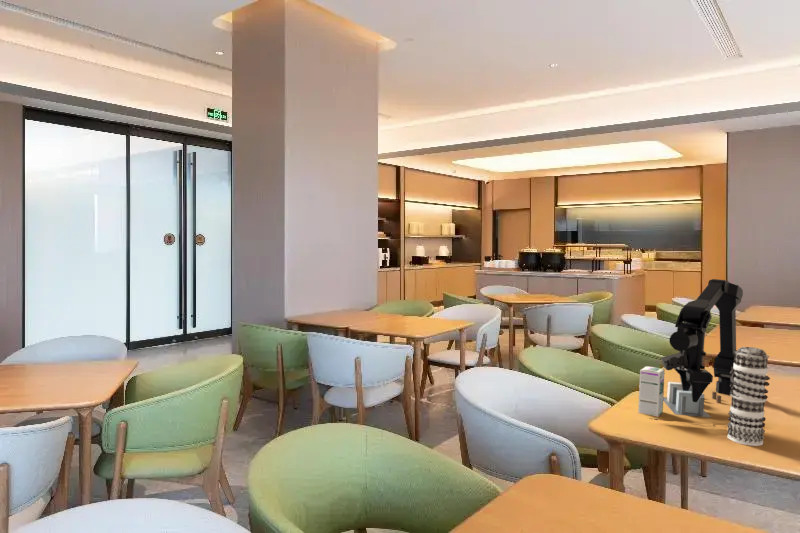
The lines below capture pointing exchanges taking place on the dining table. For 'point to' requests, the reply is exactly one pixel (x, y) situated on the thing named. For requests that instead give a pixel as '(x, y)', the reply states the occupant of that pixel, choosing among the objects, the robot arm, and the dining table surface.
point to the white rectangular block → (669, 392)
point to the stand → (717, 397)
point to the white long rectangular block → (687, 402)
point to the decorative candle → (748, 396)
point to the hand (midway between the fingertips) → (689, 397)
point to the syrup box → (651, 391)
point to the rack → (684, 405)
